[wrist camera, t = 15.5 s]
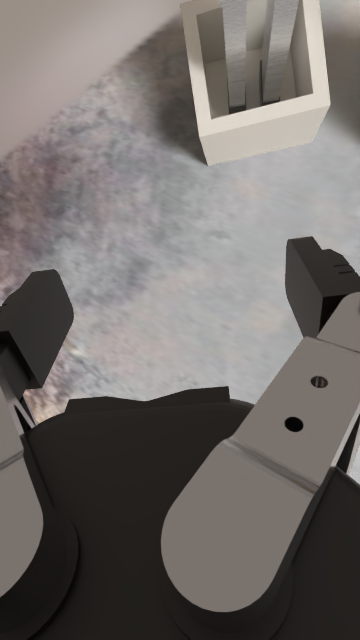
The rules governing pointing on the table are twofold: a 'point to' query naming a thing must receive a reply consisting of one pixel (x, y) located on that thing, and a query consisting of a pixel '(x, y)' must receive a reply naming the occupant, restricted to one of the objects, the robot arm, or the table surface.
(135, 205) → the table surface
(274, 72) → the grey arch block
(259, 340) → the table surface
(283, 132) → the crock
